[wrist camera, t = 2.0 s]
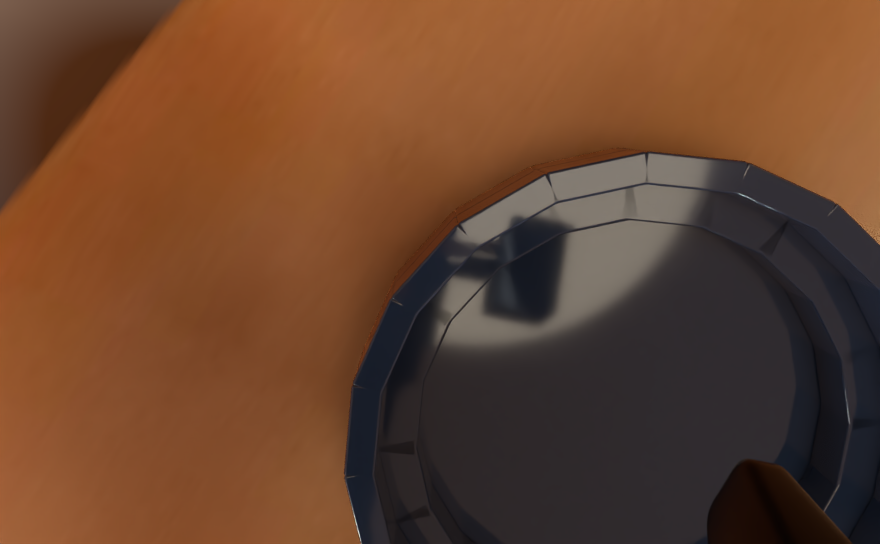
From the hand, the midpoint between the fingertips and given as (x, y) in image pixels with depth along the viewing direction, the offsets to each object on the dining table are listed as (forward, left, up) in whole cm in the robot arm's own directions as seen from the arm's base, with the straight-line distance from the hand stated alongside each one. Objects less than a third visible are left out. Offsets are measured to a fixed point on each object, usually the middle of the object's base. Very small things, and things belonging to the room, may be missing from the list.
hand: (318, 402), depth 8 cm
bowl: (-2, -8, -16) cm, 18 cm away
